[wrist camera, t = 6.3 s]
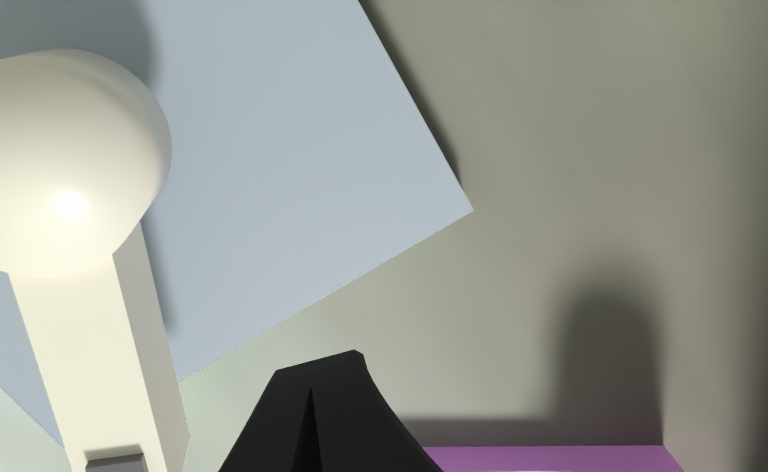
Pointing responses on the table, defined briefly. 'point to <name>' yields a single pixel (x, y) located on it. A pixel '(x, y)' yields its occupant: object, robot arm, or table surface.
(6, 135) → the cream knobbed bar
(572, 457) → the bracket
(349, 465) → the robot arm
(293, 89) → the board
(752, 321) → the table surface
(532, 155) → the table surface
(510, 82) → the table surface
